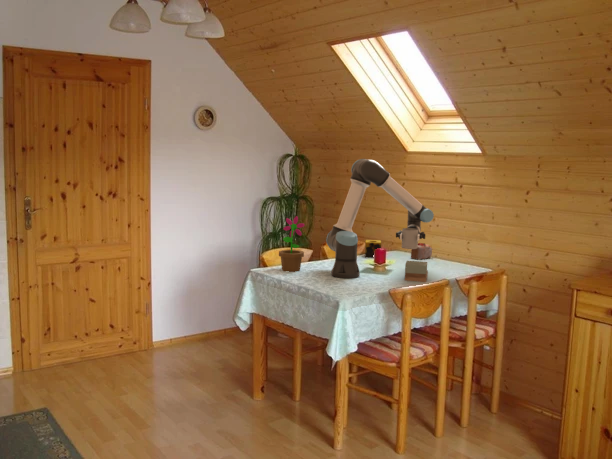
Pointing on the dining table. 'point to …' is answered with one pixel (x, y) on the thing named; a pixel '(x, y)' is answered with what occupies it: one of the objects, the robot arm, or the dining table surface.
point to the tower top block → (416, 267)
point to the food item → (421, 251)
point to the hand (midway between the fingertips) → (409, 237)
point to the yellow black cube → (371, 247)
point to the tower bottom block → (416, 277)
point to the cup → (409, 238)
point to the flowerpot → (291, 257)
